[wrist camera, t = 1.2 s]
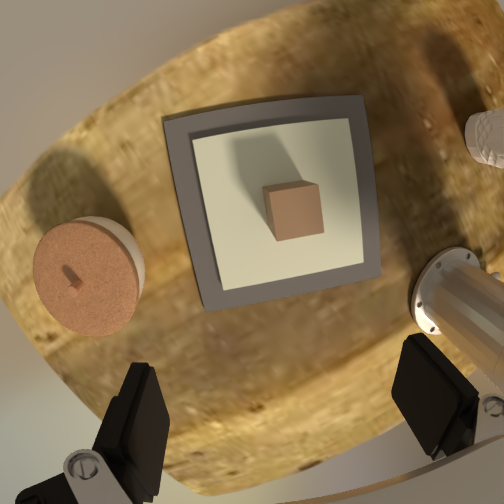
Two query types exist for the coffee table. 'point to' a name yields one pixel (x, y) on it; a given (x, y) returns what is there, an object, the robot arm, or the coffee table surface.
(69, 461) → the robot arm
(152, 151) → the coffee table surface
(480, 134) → the white cup
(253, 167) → the lid sheet
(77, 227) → the lidded jar
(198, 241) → the mat
